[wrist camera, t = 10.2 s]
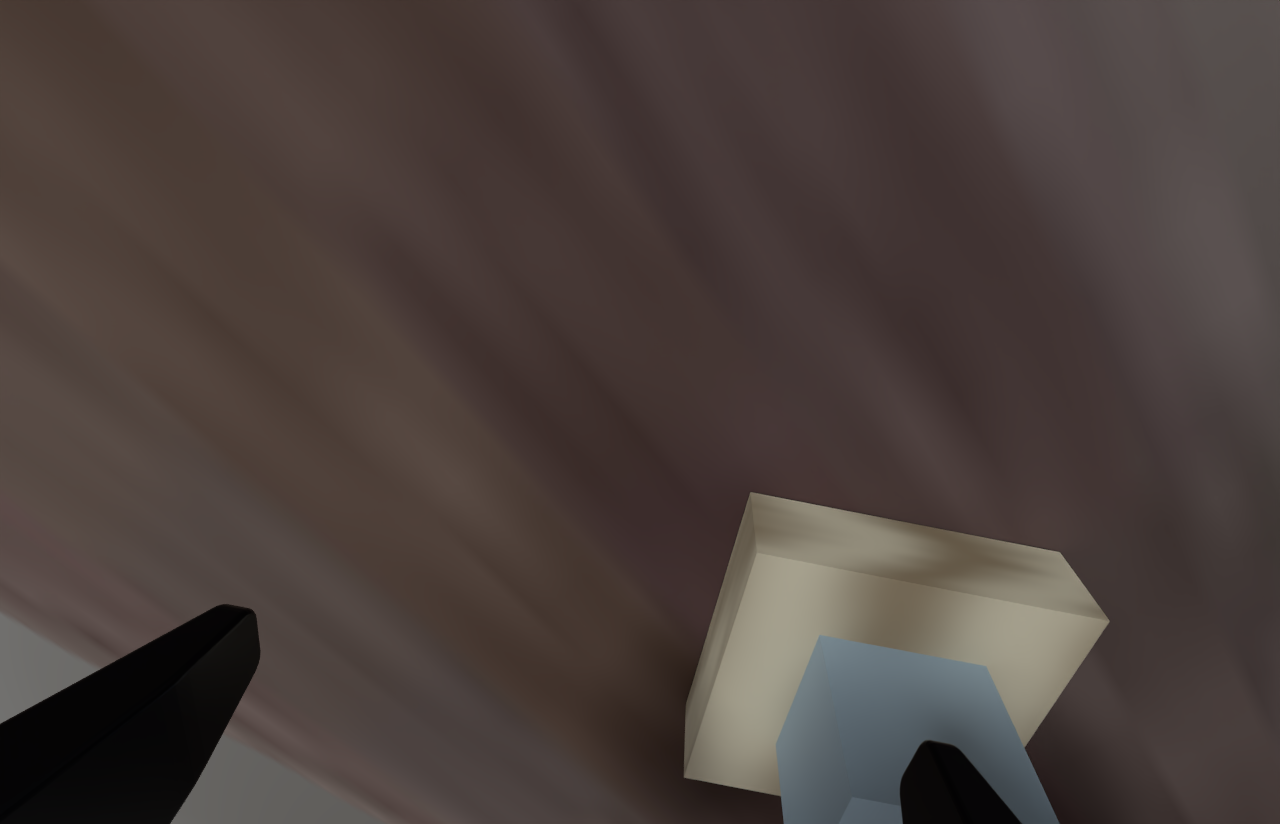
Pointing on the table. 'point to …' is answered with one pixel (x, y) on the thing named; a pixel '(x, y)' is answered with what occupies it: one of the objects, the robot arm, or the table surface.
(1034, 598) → the maple base
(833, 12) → the table surface
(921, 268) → the table surface
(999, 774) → the slate block
